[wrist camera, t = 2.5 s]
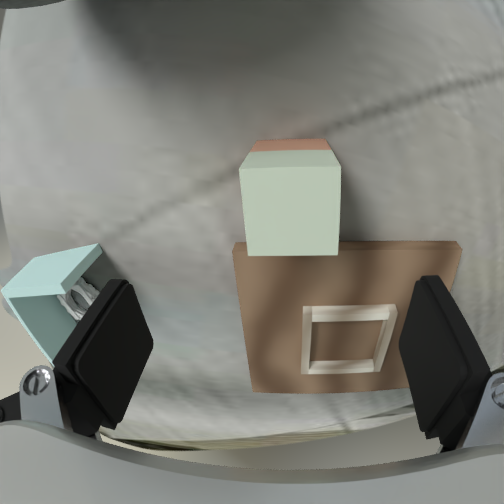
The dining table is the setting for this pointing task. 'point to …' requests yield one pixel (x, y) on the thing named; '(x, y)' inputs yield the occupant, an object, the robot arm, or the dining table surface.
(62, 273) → the right angle wall
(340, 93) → the dining table surface
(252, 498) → the robot arm
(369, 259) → the walnut board
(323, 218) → the stack block
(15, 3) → the bowl
